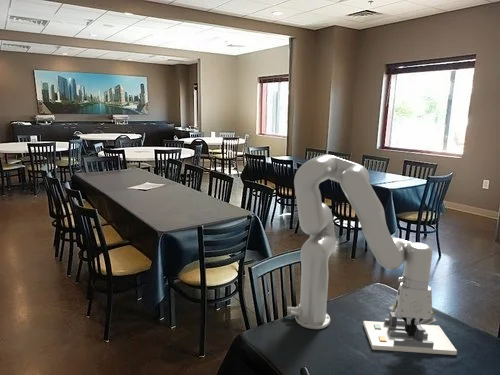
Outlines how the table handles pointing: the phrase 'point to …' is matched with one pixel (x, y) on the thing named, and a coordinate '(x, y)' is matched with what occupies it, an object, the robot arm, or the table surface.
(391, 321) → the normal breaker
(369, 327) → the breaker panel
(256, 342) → the table surface
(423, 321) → the emergency button
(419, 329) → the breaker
